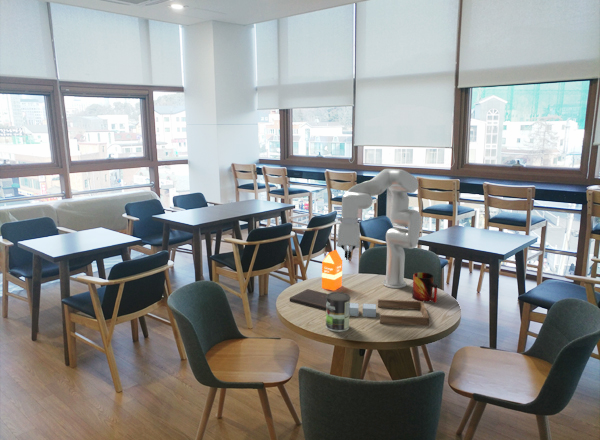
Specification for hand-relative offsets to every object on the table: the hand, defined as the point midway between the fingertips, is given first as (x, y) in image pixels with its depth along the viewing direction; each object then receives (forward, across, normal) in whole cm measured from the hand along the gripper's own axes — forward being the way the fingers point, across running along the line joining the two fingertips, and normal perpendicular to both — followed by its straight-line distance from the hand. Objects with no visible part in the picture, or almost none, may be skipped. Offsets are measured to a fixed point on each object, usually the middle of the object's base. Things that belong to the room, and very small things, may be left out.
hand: (347, 259), depth 220 cm
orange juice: (+24, -8, +29) cm, 38 cm away
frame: (+24, +26, -6) cm, 36 cm away
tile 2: (+24, +11, -6) cm, 27 cm away
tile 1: (+24, +3, -6) cm, 25 cm away
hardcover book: (+25, -14, +7) cm, 29 cm away
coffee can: (+25, -3, -22) cm, 34 cm away
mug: (+23, +40, +17) cm, 49 cm away
